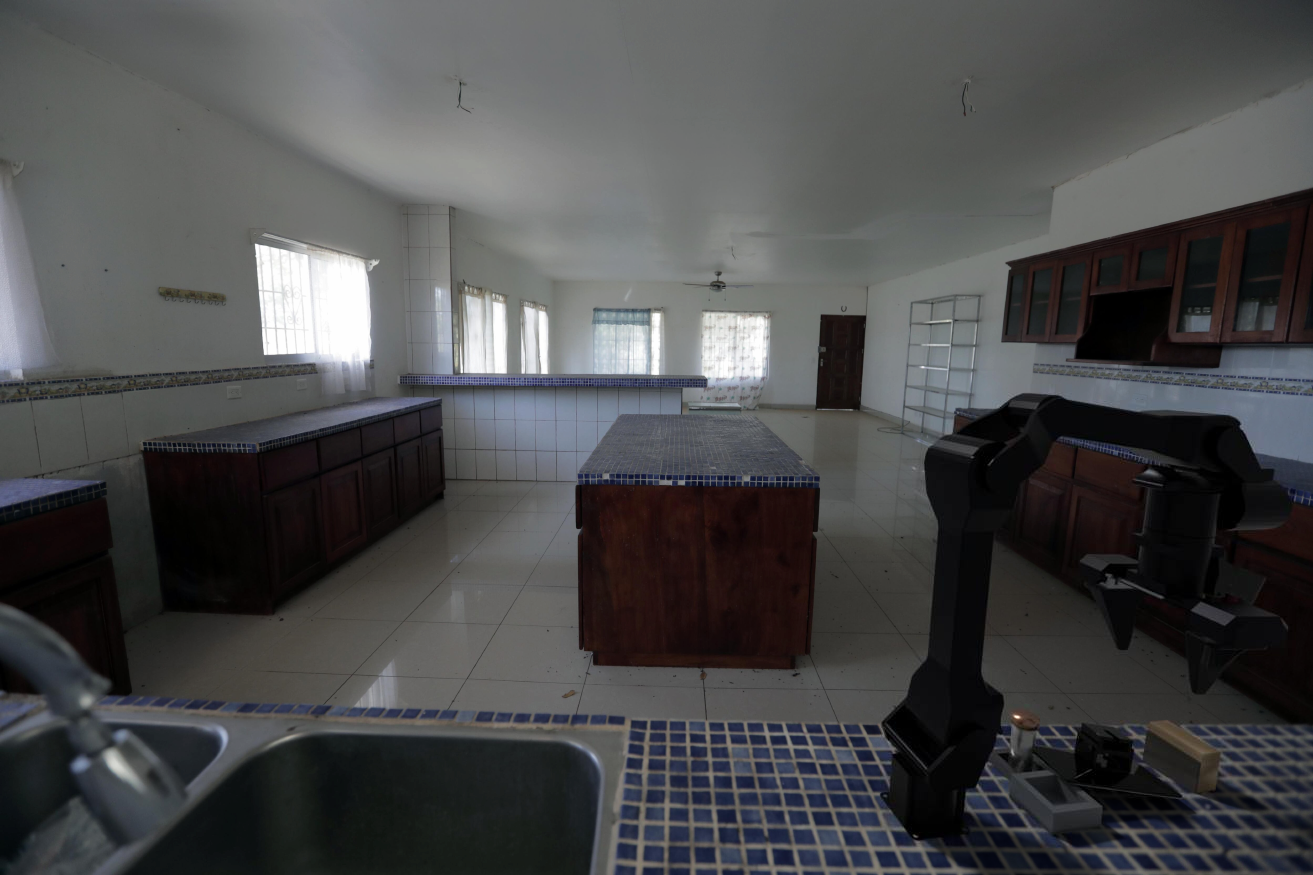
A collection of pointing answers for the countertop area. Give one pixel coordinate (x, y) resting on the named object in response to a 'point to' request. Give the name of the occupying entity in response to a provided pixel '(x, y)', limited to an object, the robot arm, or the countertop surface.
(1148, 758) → the rail
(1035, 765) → the pin socket
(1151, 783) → the build plate
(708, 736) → the countertop surface
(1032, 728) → the pin
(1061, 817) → the tray
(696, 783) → the countertop surface
